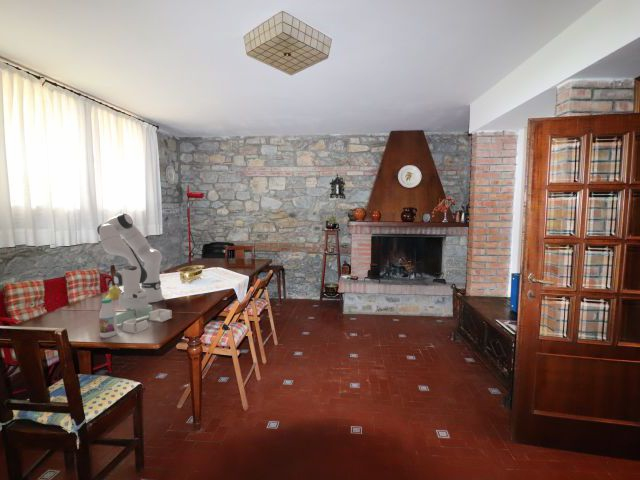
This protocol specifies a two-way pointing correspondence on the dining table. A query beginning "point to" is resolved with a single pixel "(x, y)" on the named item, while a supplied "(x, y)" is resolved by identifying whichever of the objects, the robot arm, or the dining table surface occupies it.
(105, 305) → the milk bottle
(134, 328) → the endcap
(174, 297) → the dining table surface
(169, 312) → the endcap
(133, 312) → the slat
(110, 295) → the handbell
